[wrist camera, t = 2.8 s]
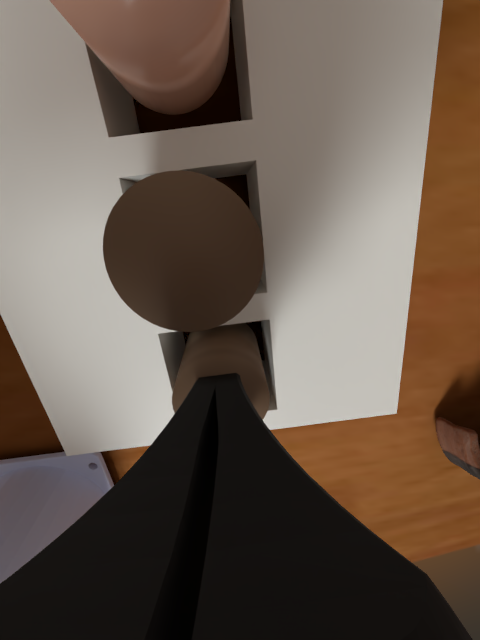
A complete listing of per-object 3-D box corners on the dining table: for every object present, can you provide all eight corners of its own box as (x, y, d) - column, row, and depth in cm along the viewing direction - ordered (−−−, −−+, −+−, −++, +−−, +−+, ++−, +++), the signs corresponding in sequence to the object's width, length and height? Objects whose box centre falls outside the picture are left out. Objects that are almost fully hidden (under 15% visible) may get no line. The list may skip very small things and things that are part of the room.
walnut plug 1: (253, 280, 10) (270, 322, 6) (161, 292, 10) (127, 340, 6) (243, 178, 9) (256, 160, 5) (138, 191, 9) (79, 182, 5)
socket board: (356, 364, 16) (396, 413, 12) (104, 396, 16) (66, 455, 12) (372, -41, 10) (464, -193, 6) (-36, 11, 10) (-198, -109, 6)
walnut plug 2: (260, 373, 13) (273, 433, 10) (193, 382, 13) (182, 445, 10) (253, 310, 12) (265, 353, 9) (180, 320, 12) (162, 366, 9)
